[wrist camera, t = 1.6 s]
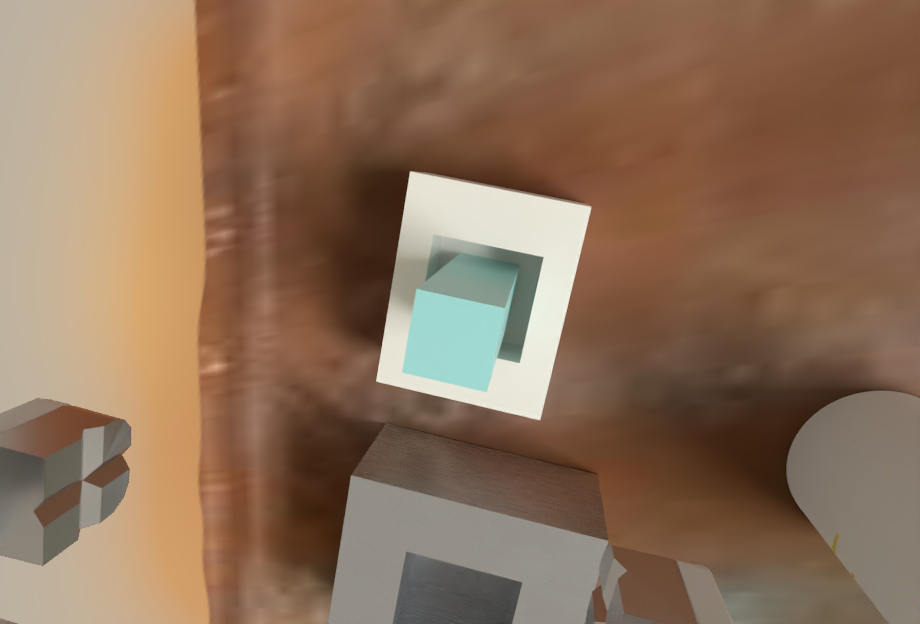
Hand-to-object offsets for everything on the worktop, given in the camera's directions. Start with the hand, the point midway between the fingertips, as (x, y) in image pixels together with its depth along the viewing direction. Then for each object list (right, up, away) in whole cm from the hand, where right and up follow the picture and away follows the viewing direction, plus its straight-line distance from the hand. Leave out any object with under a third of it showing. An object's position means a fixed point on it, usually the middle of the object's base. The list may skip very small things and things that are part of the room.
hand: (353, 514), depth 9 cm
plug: (+3, +5, +20) cm, 20 cm away
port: (+2, -10, +24) cm, 26 cm away
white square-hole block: (+3, +5, +21) cm, 21 cm away
